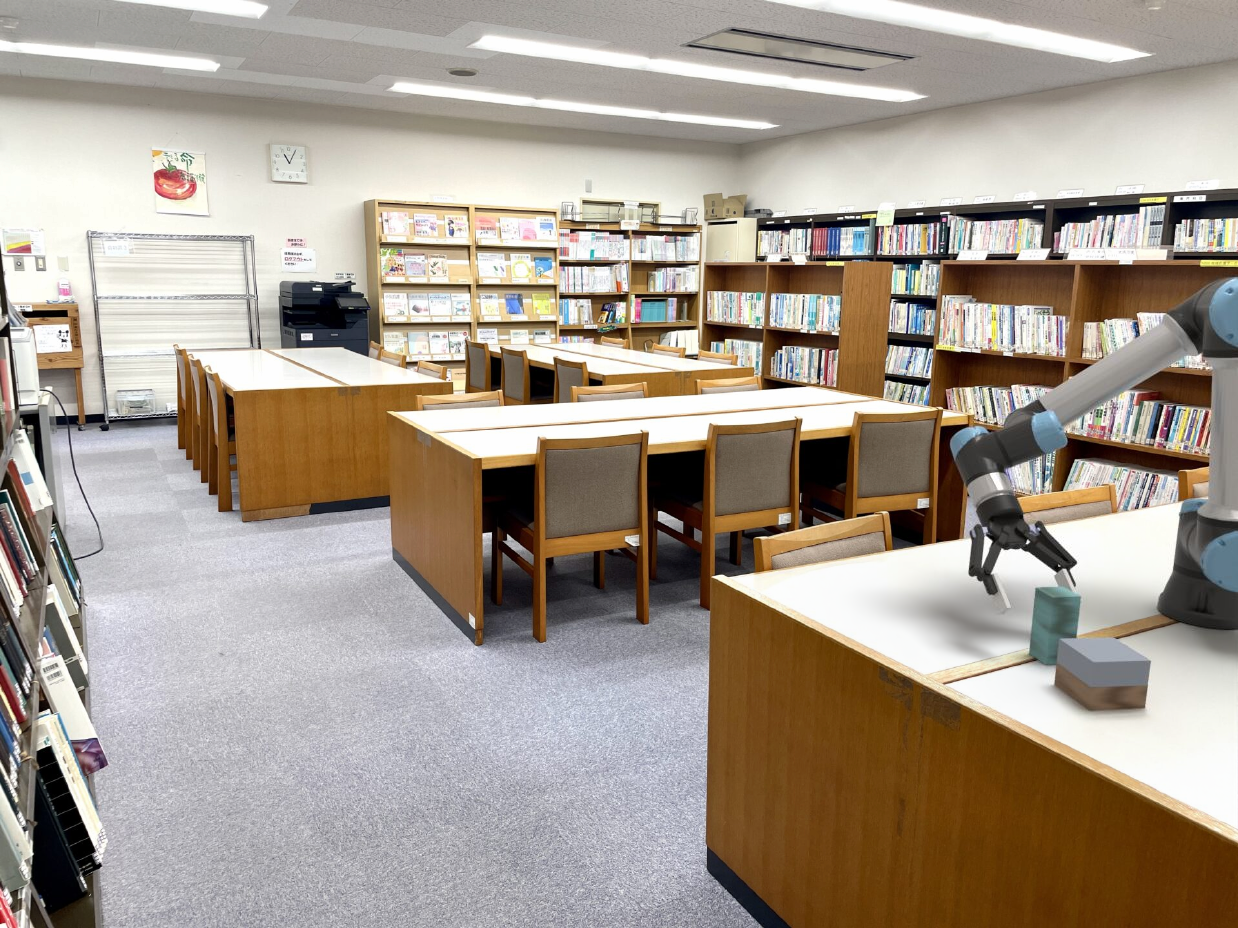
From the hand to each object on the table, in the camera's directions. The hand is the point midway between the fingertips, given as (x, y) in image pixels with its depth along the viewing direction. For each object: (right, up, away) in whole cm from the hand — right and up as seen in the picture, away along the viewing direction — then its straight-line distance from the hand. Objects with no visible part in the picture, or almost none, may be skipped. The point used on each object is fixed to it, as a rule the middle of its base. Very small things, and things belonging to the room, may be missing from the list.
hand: (1040, 608), depth 152 cm
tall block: (+2, -8, -1) cm, 9 cm away
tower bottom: (+2, -11, -14) cm, 19 cm away
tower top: (+2, -8, -15) cm, 17 cm away
